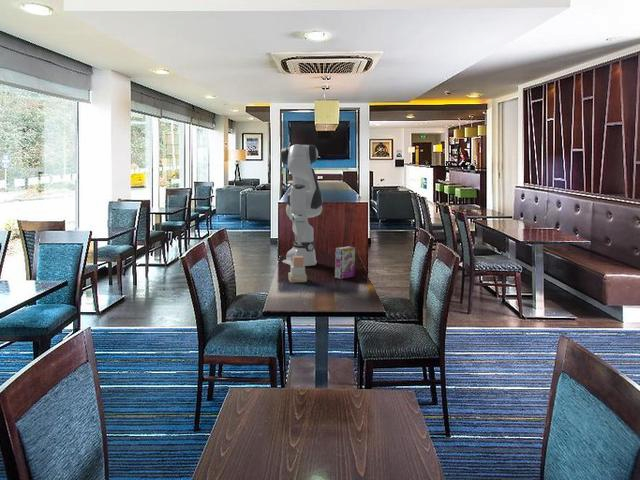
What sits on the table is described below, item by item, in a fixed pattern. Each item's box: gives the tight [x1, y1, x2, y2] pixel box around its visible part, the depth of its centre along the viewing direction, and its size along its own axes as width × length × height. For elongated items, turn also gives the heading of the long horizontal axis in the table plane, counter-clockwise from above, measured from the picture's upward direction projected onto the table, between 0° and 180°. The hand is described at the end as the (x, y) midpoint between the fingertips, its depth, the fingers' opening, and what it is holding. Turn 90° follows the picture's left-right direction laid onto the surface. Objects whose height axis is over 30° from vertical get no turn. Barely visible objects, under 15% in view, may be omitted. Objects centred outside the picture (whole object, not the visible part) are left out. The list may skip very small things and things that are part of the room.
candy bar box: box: [334, 246, 356, 280], centre depth 302 cm, size 11×5×16 cm, turn 135°
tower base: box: [287, 271, 308, 283], centre depth 296 cm, size 8×8×4 cm
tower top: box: [290, 265, 306, 275], centre depth 295 cm, size 7×7×4 cm
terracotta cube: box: [293, 256, 303, 267], centre depth 294 cm, size 5×5×5 cm
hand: (298, 242), depth 293 cm, fingers open, 8 cm apart
